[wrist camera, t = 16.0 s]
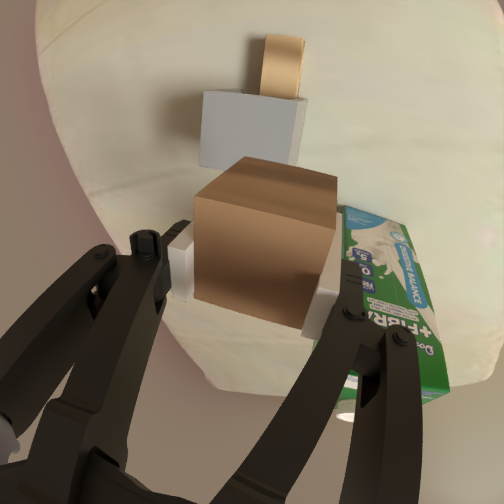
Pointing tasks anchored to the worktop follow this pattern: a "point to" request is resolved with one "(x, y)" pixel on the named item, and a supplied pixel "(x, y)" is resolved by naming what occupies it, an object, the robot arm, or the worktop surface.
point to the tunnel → (249, 128)
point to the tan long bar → (282, 66)
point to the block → (263, 239)
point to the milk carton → (392, 298)
